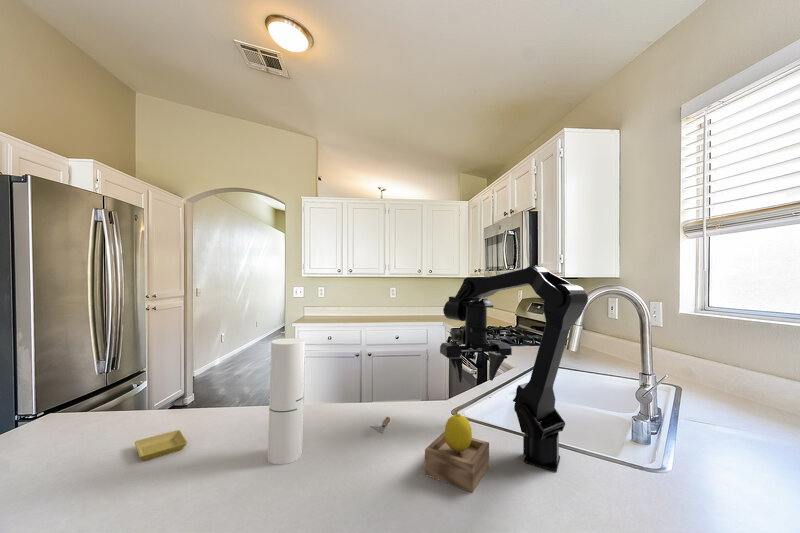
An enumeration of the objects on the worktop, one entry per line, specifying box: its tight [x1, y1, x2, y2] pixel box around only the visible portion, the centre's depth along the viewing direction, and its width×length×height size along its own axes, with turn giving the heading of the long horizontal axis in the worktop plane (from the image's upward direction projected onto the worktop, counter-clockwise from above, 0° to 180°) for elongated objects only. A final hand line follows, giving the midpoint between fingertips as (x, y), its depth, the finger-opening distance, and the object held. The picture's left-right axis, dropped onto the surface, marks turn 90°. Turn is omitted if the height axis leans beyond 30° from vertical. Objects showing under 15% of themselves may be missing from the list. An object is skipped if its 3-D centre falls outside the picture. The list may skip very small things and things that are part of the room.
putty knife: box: [369, 416, 391, 435], centre depth 85 cm, size 13×1×5 cm
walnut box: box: [424, 430, 490, 493], centre depth 67 cm, size 10×10×5 cm
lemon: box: [444, 412, 473, 453], centre depth 67 cm, size 6×6×8 cm
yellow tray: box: [134, 429, 188, 461], centre depth 73 cm, size 9×9×2 cm
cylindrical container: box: [267, 338, 306, 465], centre depth 72 cm, size 7×7×25 cm
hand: (475, 381), depth 88 cm, fingers open, 9 cm apart
